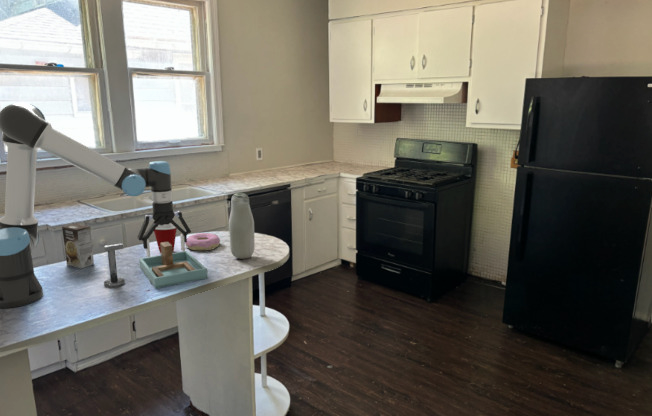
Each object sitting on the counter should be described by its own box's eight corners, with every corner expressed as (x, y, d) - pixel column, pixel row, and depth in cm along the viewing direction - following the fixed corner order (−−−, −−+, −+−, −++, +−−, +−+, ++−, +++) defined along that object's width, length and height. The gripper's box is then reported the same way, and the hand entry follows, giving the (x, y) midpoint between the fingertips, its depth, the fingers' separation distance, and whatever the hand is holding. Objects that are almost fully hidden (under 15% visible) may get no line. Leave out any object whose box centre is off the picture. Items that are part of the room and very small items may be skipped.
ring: (161, 282, 174) (159, 259, 172) (148, 266, 190) (146, 244, 188) (197, 275, 181) (196, 252, 179) (182, 260, 197) (181, 239, 195)
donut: (196, 254, 208) (195, 243, 207) (179, 246, 218) (178, 236, 217) (227, 247, 218) (226, 236, 217) (209, 240, 229) (208, 230, 228)
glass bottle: (258, 255, 207) (256, 191, 201) (248, 262, 197) (246, 196, 191) (236, 253, 209) (234, 190, 203) (226, 260, 200) (223, 195, 193)
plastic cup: (183, 248, 215) (182, 222, 213) (173, 256, 205) (171, 229, 202) (160, 247, 216) (158, 221, 214) (149, 255, 206) (147, 228, 203)
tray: (155, 288, 171) (154, 278, 170) (139, 267, 191) (139, 258, 190) (207, 278, 181) (206, 268, 180) (187, 259, 201) (186, 250, 200)
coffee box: (65, 265, 194) (61, 226, 190) (80, 260, 199) (76, 222, 195) (80, 268, 189) (76, 229, 186) (95, 264, 195) (90, 225, 191)
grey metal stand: (105, 289, 170) (101, 249, 167) (102, 282, 176) (98, 244, 172) (128, 284, 174) (124, 246, 171) (124, 278, 180) (120, 241, 176)
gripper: (130, 206, 176) (135, 261, 181) (196, 199, 190) (199, 250, 194) (126, 203, 182) (131, 256, 187) (191, 196, 196) (194, 245, 201)
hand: (166, 253), depth 191 cm, fingers open, 13 cm apart
